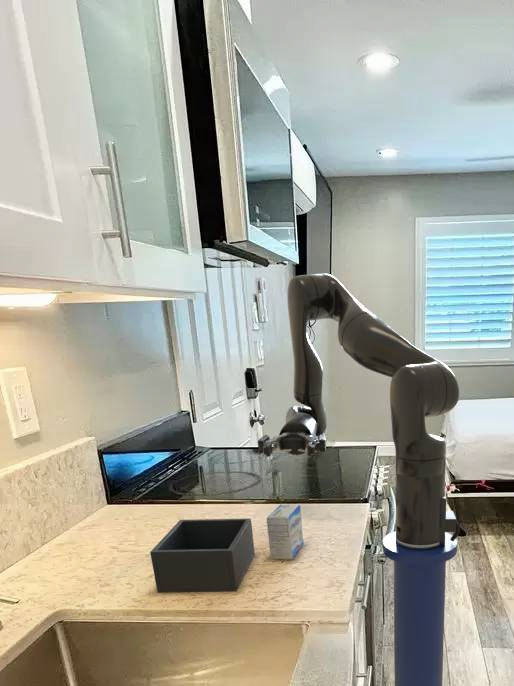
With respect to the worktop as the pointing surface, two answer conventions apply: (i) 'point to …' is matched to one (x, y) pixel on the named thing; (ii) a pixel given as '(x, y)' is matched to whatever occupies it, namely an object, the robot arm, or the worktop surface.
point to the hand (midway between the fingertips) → (288, 451)
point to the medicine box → (285, 531)
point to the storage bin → (203, 556)
